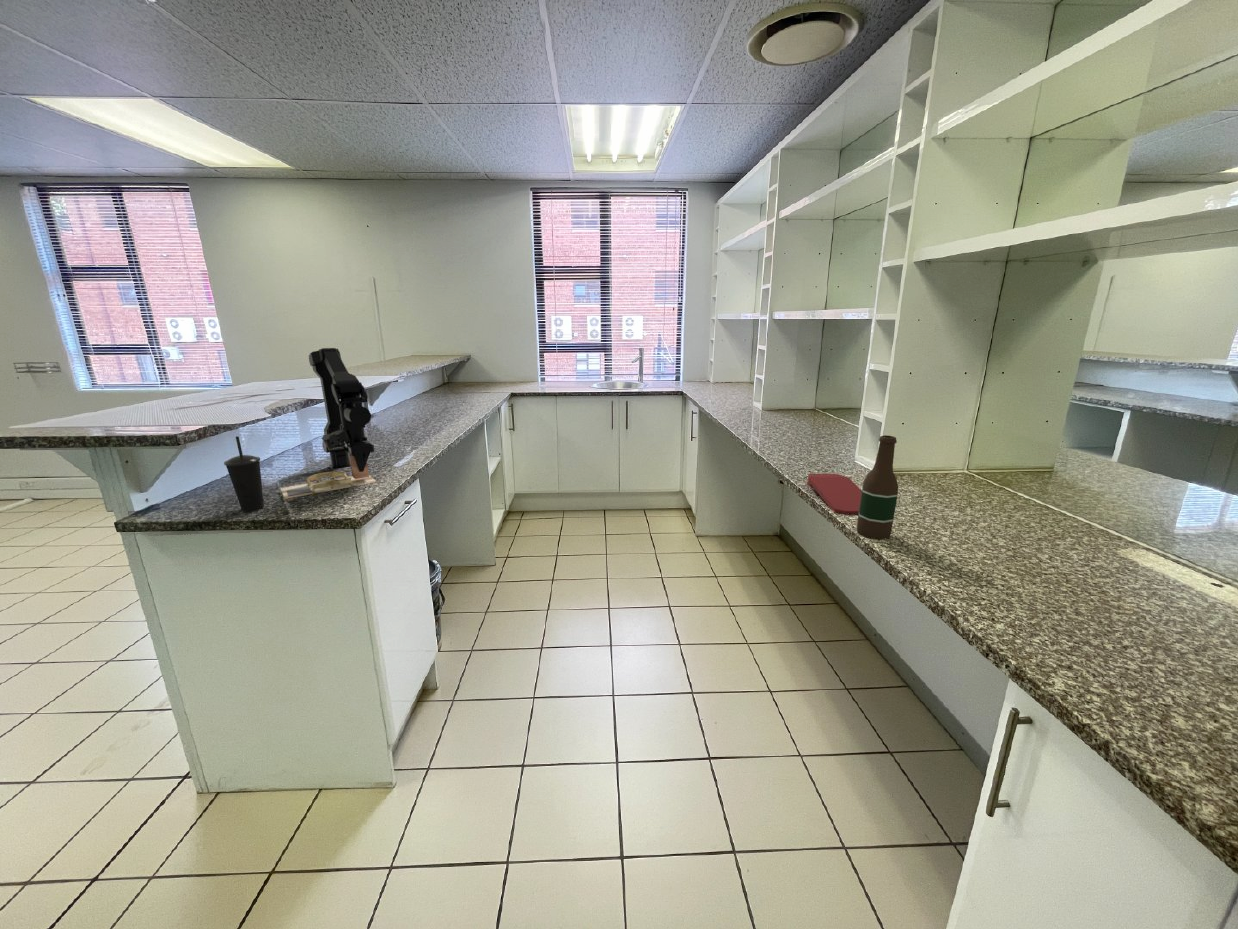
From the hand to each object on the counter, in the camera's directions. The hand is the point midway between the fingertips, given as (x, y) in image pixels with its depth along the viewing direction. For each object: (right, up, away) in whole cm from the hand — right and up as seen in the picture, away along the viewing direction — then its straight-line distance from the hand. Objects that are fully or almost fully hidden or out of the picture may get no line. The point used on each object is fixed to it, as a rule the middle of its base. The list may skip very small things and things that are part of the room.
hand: (359, 470), depth 150 cm
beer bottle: (+142, -15, -34) cm, 147 cm away
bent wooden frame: (-7, -5, -3) cm, 10 cm away
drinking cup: (-18, -10, -20) cm, 29 cm away
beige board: (-7, -5, -3) cm, 10 cm away
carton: (+145, -9, -10) cm, 146 cm away
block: (0, -2, +1) cm, 2 cm away
